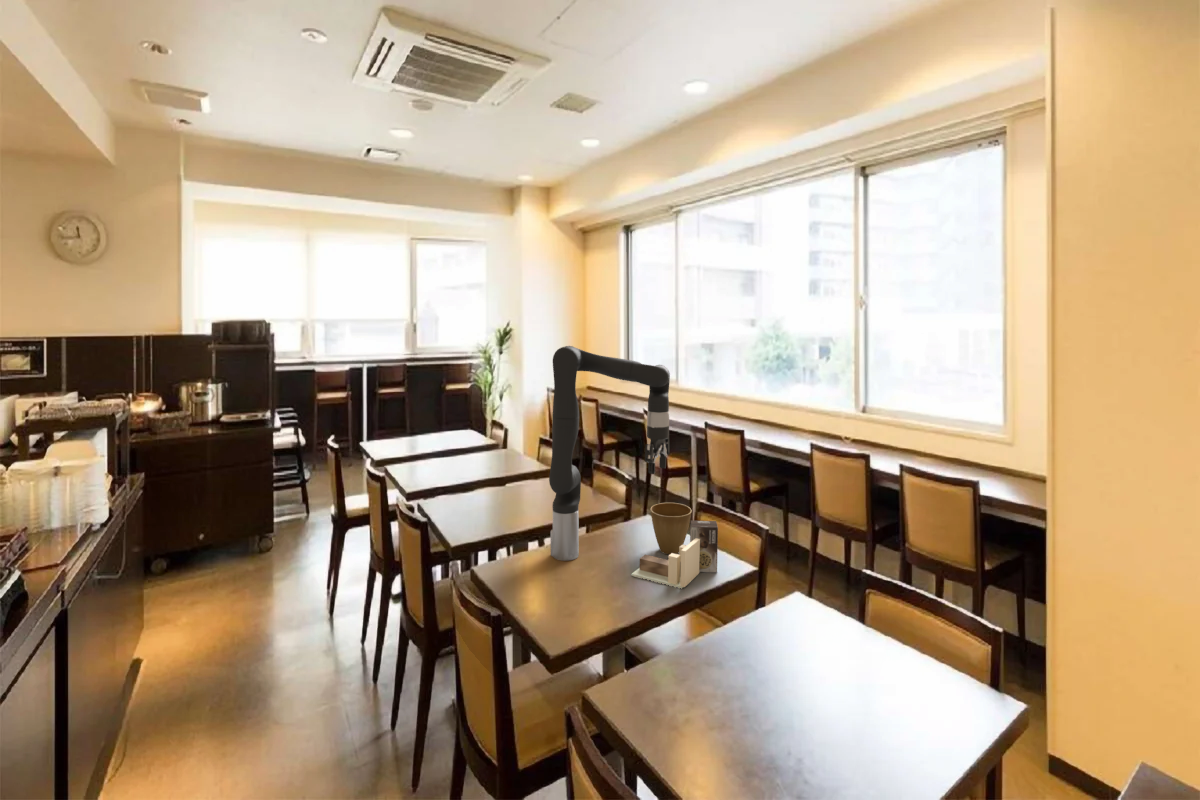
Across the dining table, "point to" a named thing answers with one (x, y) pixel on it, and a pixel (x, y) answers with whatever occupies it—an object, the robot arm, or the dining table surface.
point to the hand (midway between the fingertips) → (657, 470)
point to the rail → (655, 565)
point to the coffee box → (706, 543)
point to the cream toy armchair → (677, 567)
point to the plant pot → (670, 525)
